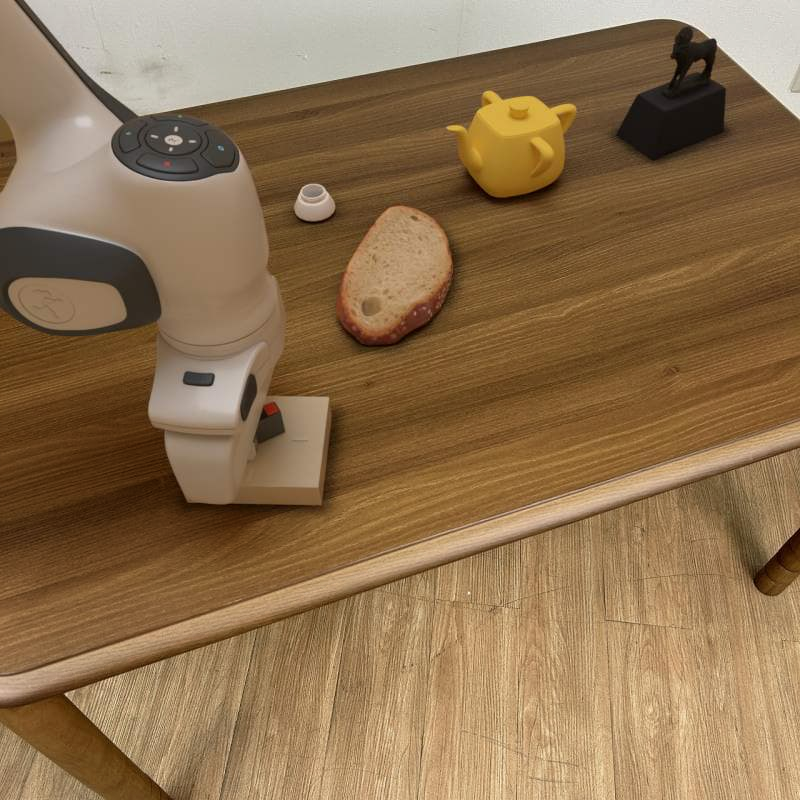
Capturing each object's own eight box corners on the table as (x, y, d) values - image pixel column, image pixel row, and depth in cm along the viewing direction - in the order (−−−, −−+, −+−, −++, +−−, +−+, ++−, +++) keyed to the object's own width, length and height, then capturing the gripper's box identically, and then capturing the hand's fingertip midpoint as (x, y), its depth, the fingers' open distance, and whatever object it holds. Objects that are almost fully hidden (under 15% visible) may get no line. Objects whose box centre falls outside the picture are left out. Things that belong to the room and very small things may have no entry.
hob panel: (187, 502, 66) (178, 483, 64) (209, 414, 72) (202, 393, 70) (321, 505, 66) (318, 486, 63) (331, 416, 72) (329, 395, 69)
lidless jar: (330, 225, 90) (338, 200, 93) (328, 205, 88) (337, 180, 91) (290, 222, 91) (300, 197, 94) (287, 202, 89) (297, 177, 92)
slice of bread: (412, 209, 92) (412, 183, 89) (503, 291, 83) (506, 265, 80) (284, 263, 86) (279, 238, 83) (366, 359, 76) (364, 333, 74)
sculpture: (612, 132, 102) (638, 20, 90) (686, 106, 106) (720, -4, 94) (651, 161, 98) (683, 47, 86) (727, 133, 102) (767, 20, 90)
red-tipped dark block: (234, 455, 65) (227, 434, 63) (228, 444, 66) (221, 422, 64) (285, 432, 67) (280, 410, 64) (279, 421, 68) (274, 399, 65)
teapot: (541, 222, 90) (553, 147, 82) (442, 198, 93) (445, 122, 85) (571, 162, 98) (586, 88, 90) (479, 141, 101) (485, 68, 93)
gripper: (219, 238, 62) (245, 350, 73) (138, 433, 50) (185, 534, 60) (292, 244, 62) (308, 356, 73) (230, 442, 49) (261, 542, 60)
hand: (252, 438), depth 66 cm, fingers closed on red-tipped dark block, 2 cm apart
